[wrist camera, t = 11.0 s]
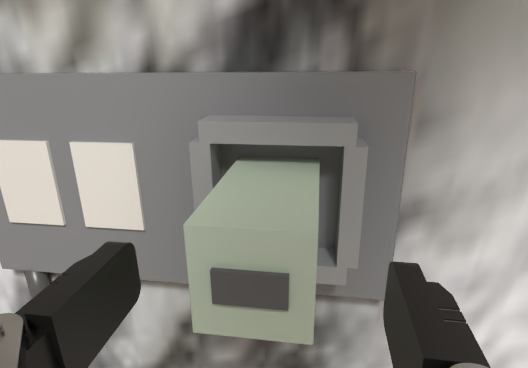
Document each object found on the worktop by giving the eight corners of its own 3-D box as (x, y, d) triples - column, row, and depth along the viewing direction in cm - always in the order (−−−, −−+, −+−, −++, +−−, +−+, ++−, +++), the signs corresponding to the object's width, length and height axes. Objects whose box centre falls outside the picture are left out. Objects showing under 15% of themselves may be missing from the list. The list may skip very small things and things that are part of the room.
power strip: (-38, 73, 20) (-91, 76, 17) (410, 70, 17) (427, 73, 14) (28, 309, 25) (-6, 338, 23) (378, 344, 22) (386, 383, 19)
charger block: (239, 156, 18) (180, 227, 11) (319, 158, 18) (318, 236, 10) (242, 227, 19) (191, 336, 12) (316, 231, 19) (312, 350, 11)
